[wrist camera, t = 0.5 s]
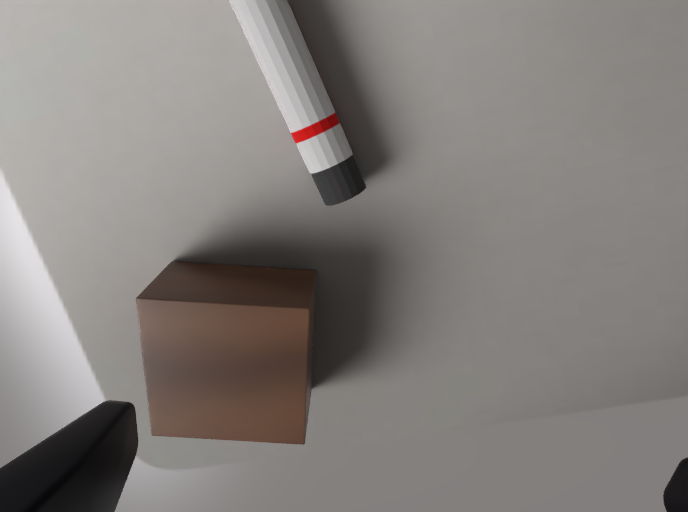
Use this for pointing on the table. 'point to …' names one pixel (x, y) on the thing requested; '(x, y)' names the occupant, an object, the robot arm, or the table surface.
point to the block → (228, 351)
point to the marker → (300, 96)
